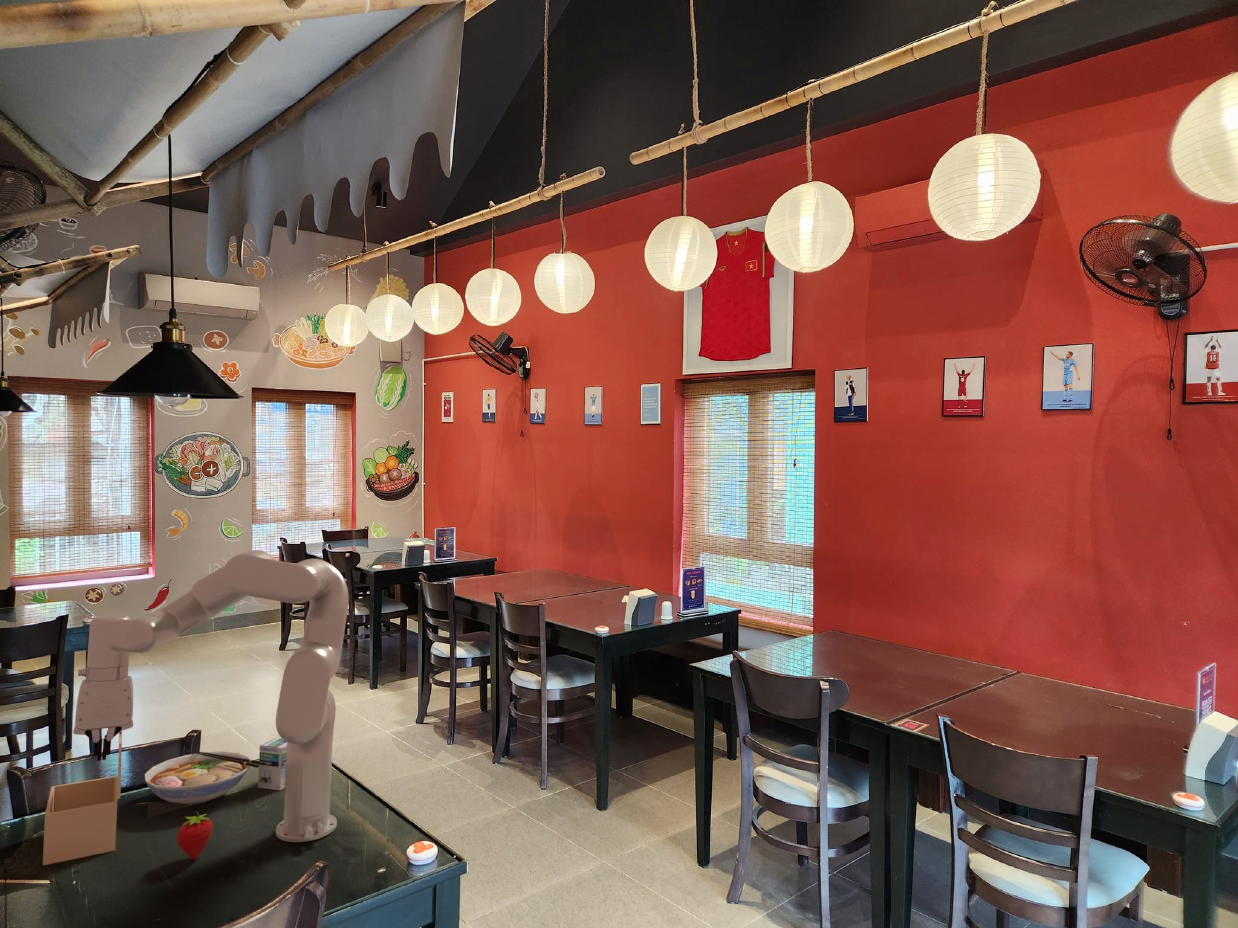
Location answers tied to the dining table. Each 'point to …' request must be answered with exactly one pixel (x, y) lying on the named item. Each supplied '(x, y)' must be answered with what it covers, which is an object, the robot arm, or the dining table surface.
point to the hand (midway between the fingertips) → (101, 758)
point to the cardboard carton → (80, 820)
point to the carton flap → (119, 764)
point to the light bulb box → (272, 764)
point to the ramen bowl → (198, 776)
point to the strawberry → (194, 835)
